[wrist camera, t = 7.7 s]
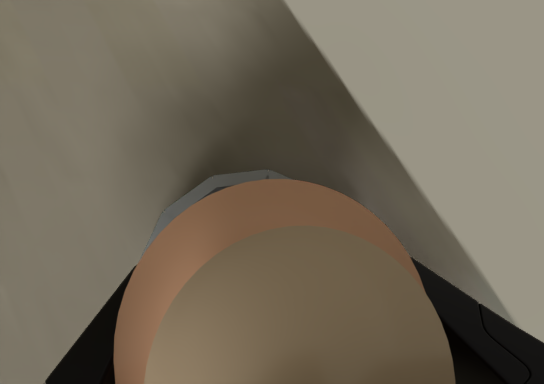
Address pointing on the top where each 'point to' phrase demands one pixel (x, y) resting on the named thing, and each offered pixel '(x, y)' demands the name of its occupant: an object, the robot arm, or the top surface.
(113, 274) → the top surface
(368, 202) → the top surface
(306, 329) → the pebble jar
